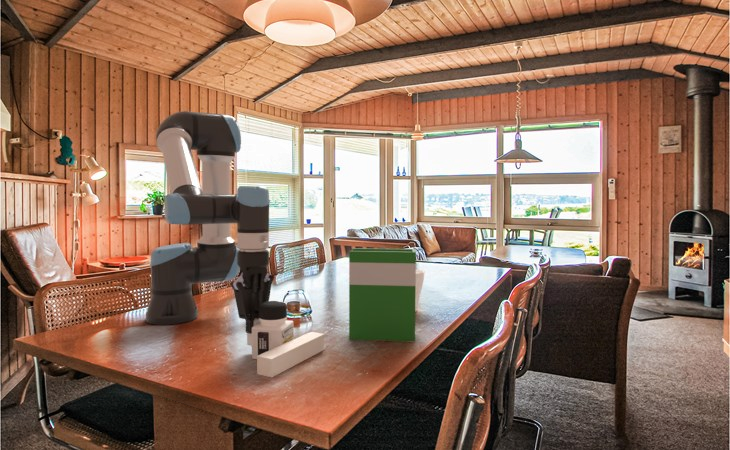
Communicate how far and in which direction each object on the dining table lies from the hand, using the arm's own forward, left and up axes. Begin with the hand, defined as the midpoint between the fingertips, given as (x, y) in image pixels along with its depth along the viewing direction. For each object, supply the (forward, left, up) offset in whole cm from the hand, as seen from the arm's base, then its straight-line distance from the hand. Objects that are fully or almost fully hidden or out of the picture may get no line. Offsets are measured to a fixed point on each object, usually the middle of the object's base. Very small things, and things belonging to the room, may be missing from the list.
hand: (253, 344), depth 110 cm
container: (+5, +1, -2) cm, 6 cm away
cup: (+17, +57, -2) cm, 60 cm away
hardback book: (+22, +27, -2) cm, 35 cm away
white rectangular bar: (+12, 0, -2) cm, 12 cm away
